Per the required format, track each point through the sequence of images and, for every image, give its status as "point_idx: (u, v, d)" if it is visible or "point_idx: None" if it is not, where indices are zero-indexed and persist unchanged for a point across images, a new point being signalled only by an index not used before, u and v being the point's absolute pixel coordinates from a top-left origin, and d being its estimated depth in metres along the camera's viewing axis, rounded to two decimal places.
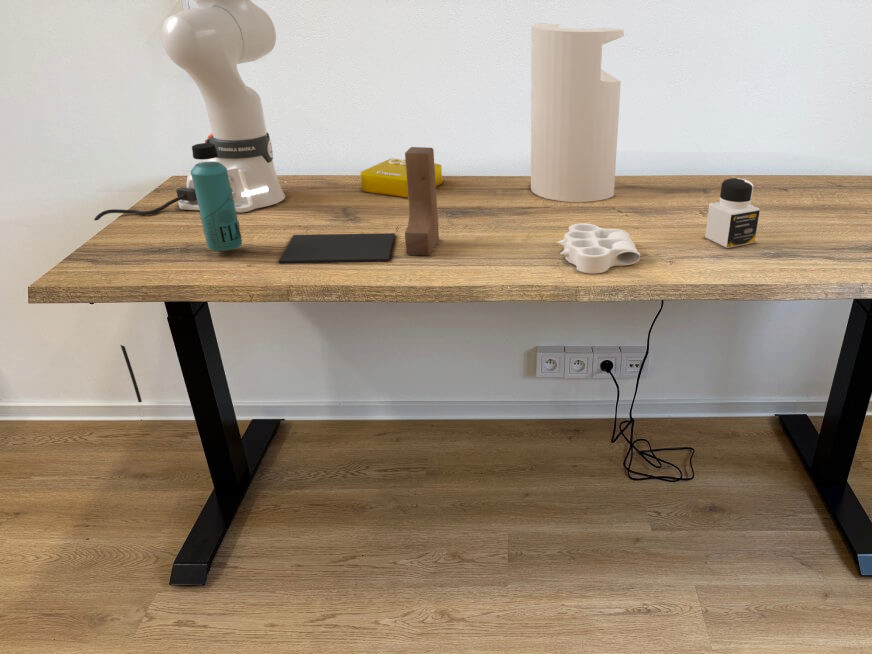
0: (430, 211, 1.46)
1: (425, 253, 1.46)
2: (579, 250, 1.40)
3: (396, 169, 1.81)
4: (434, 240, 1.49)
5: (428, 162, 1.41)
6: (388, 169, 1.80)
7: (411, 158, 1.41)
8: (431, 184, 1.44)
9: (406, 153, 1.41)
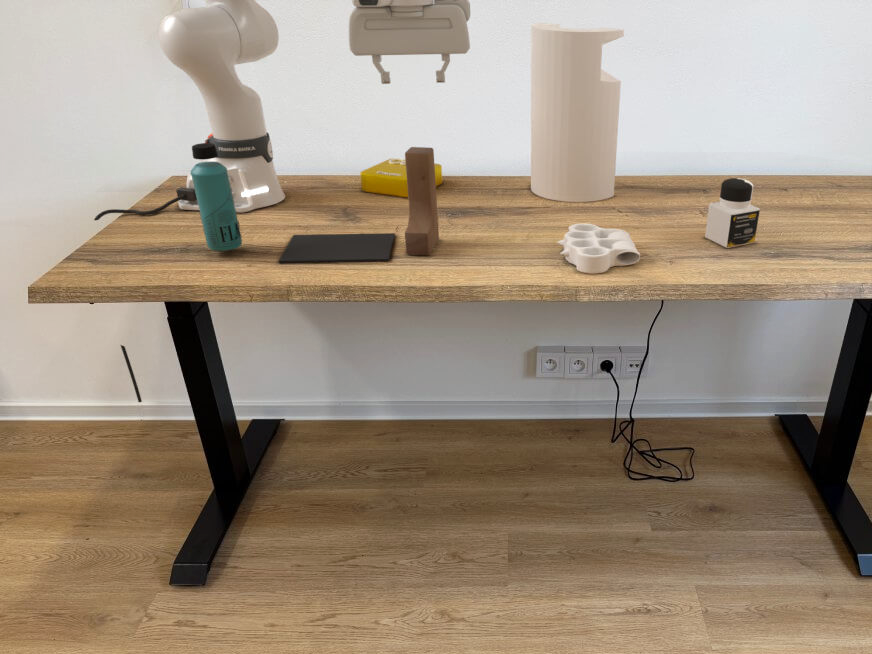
0: (430, 211, 1.46)
1: (425, 253, 1.46)
2: (579, 250, 1.40)
3: (396, 169, 1.81)
4: (434, 240, 1.49)
5: (428, 162, 1.41)
6: (388, 169, 1.80)
7: (411, 158, 1.41)
8: (431, 184, 1.44)
9: (406, 153, 1.41)
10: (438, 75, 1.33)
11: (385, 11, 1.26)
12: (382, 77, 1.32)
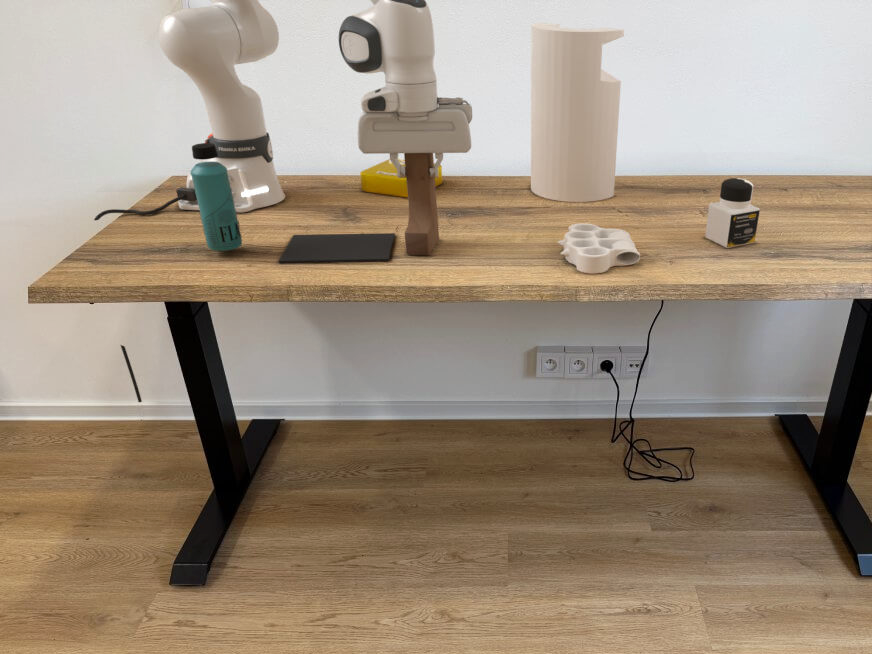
0: (430, 211, 1.46)
1: (425, 253, 1.46)
2: (579, 250, 1.40)
3: (396, 169, 1.81)
4: (434, 240, 1.49)
5: (427, 162, 1.41)
6: (388, 169, 1.80)
7: (410, 158, 1.41)
8: (431, 184, 1.44)
9: (405, 153, 1.41)
10: (431, 171, 1.41)
11: (392, 116, 1.34)
12: (398, 172, 1.41)
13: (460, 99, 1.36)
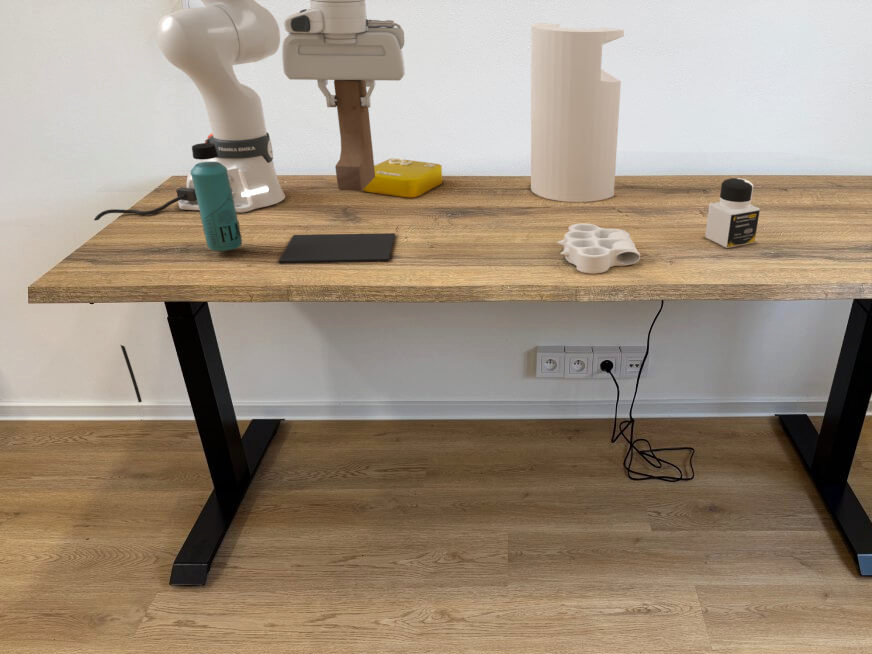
0: (363, 144, 1.39)
1: (357, 188, 1.39)
2: (579, 250, 1.40)
3: (396, 169, 1.81)
4: (368, 176, 1.42)
5: (358, 90, 1.34)
6: (388, 169, 1.80)
7: (340, 86, 1.34)
8: (363, 115, 1.37)
9: (335, 81, 1.34)
10: (363, 100, 1.34)
11: (318, 37, 1.27)
12: (328, 101, 1.34)
13: (391, 22, 1.29)
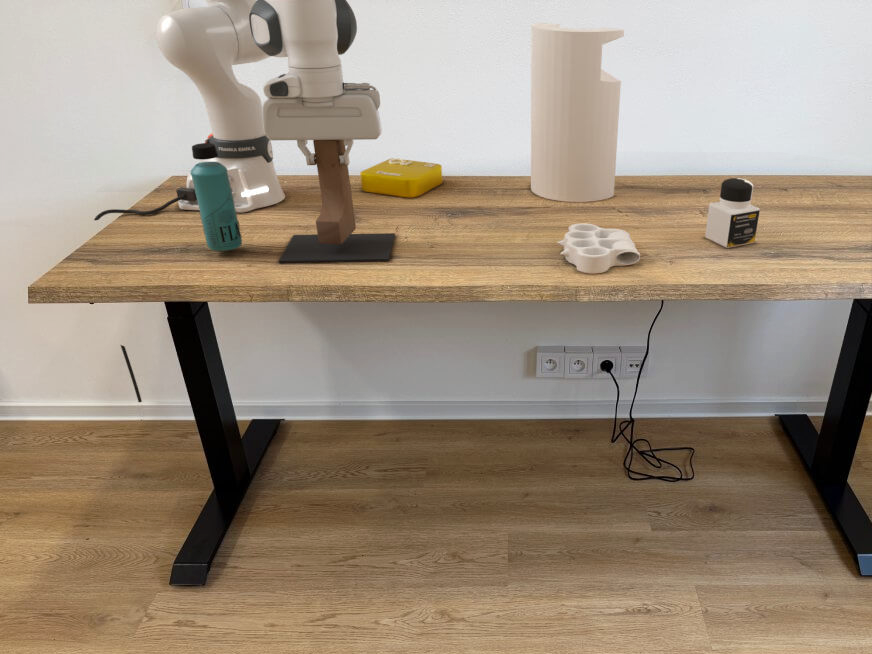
0: (342, 199, 1.43)
1: (337, 242, 1.43)
2: (579, 250, 1.40)
3: (396, 169, 1.81)
4: (349, 229, 1.47)
5: (337, 149, 1.39)
6: (388, 169, 1.80)
7: (319, 145, 1.38)
8: (342, 172, 1.42)
9: (314, 140, 1.38)
10: (341, 158, 1.39)
11: (296, 101, 1.32)
12: (307, 159, 1.39)
13: (366, 84, 1.33)
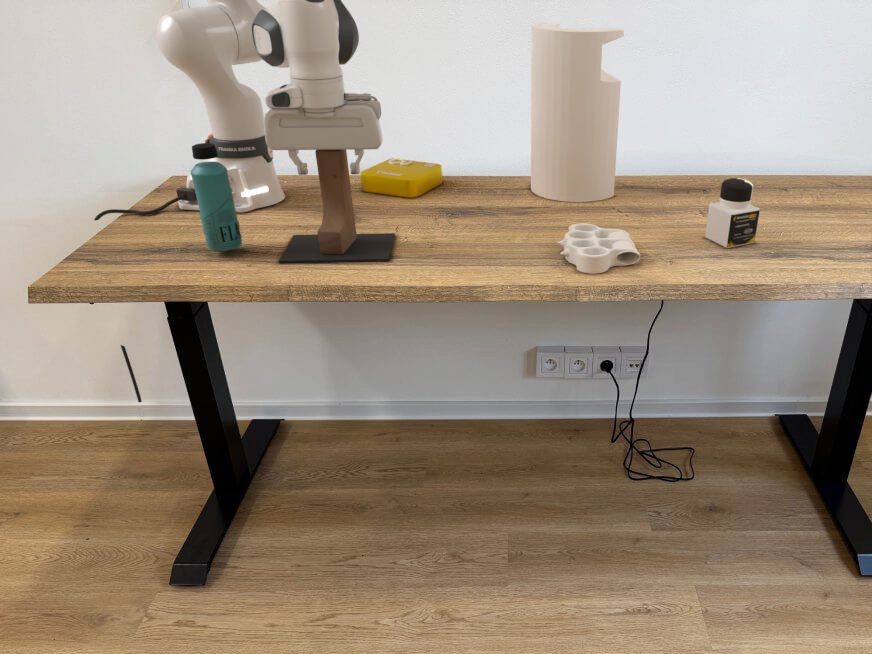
0: (344, 210, 1.44)
1: (339, 252, 1.44)
2: (579, 250, 1.40)
3: (396, 169, 1.81)
4: (350, 239, 1.48)
5: (339, 160, 1.40)
6: (388, 169, 1.80)
7: (321, 156, 1.40)
8: (344, 182, 1.43)
9: (316, 151, 1.39)
10: (352, 168, 1.40)
11: (298, 112, 1.33)
12: (298, 169, 1.39)
13: (367, 95, 1.34)
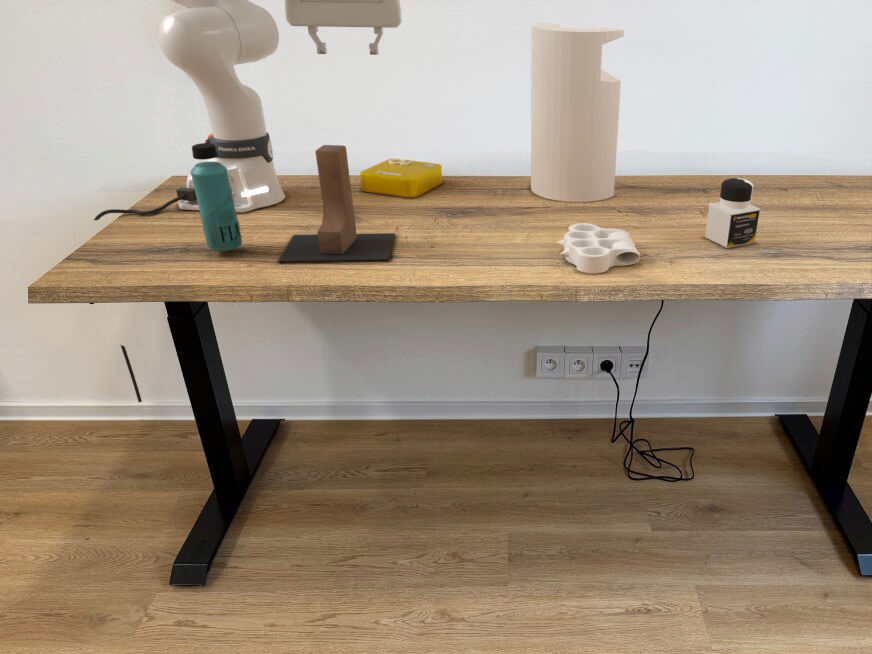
0: (344, 210, 1.44)
1: (339, 252, 1.44)
2: (579, 250, 1.40)
3: (396, 169, 1.81)
4: (350, 239, 1.48)
5: (339, 160, 1.40)
6: (388, 169, 1.80)
7: (321, 156, 1.40)
8: (344, 182, 1.43)
9: (316, 151, 1.39)
10: (371, 47, 1.40)
11: None
12: (318, 47, 1.40)
13: None
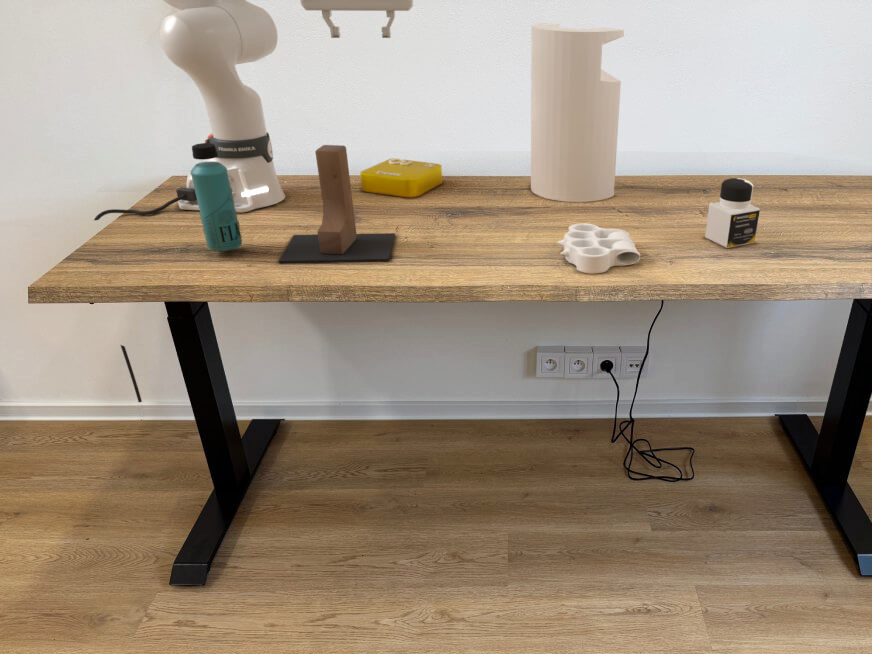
0: (344, 210, 1.44)
1: (339, 252, 1.44)
2: (579, 250, 1.40)
3: (396, 169, 1.81)
4: (350, 239, 1.48)
5: (339, 160, 1.40)
6: (388, 169, 1.80)
7: (321, 156, 1.40)
8: (344, 182, 1.43)
9: (316, 151, 1.39)
10: (383, 31, 1.44)
11: None
12: (331, 31, 1.43)
13: None
